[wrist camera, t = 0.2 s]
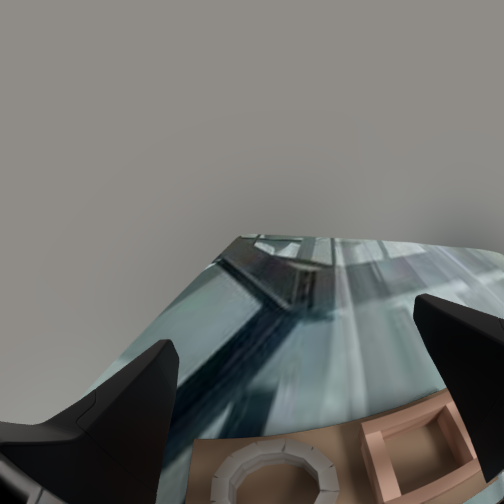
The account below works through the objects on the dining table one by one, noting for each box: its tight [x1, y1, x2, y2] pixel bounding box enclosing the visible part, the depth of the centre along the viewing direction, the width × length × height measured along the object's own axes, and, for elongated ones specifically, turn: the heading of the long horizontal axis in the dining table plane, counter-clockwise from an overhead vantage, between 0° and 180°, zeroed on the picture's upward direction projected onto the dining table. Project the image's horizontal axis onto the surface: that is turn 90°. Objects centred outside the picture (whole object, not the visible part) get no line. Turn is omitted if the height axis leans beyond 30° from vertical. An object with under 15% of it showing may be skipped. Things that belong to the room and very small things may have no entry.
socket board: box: [185, 388, 498, 504], centre depth 13 cm, size 12×24×4 cm, turn 90°
